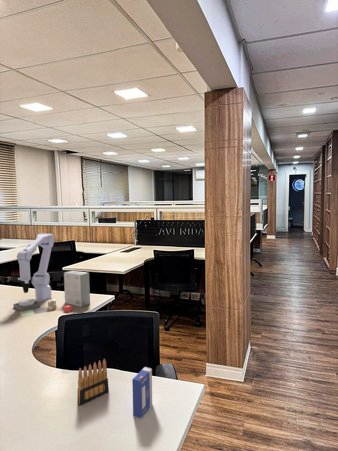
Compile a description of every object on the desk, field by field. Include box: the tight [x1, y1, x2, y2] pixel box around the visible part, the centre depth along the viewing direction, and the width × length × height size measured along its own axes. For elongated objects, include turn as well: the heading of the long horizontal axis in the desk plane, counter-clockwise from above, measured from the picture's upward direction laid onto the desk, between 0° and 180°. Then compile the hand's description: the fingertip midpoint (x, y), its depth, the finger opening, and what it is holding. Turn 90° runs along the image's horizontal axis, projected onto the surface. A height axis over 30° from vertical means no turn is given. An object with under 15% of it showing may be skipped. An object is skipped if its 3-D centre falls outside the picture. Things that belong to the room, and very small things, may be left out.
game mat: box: [19, 304, 60, 317], centre depth 192 cm, size 21×9×1 cm, turn 120°
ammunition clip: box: [76, 358, 110, 407], centre depth 107 cm, size 11×2×12 cm, turn 132°
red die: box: [63, 304, 73, 313], centre depth 190 cm, size 3×3×3 cm
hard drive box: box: [63, 270, 91, 308], centre depth 204 cm, size 16×8×20 cm, turn 58°
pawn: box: [47, 298, 57, 310], centre depth 195 cm, size 4×4×5 cm
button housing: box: [12, 300, 41, 312], centre depth 198 cm, size 11×11×2 cm
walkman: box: [131, 366, 153, 419], centre depth 100 cm, size 8×3×12 cm, turn 155°
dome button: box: [17, 298, 35, 307], centre depth 198 cm, size 9×9×2 cm
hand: (25, 292), depth 197 cm, fingers closed
